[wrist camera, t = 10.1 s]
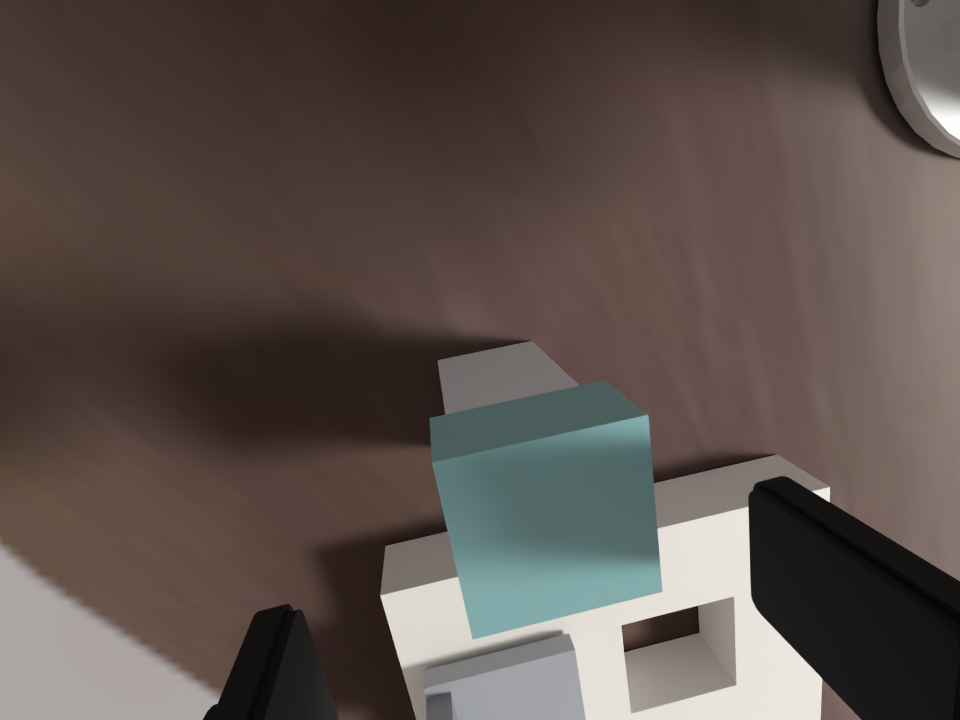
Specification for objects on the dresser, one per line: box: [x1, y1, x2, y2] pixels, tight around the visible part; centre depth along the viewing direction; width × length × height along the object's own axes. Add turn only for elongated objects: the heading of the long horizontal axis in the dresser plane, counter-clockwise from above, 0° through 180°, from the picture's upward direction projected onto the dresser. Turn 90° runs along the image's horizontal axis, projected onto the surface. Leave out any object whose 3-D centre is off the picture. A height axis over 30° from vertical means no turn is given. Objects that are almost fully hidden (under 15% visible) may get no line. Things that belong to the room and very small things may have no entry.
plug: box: [429, 341, 662, 639], centre depth 15 cm, size 5×5×10 cm
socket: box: [380, 455, 830, 720], centre depth 22 cm, size 19×14×3 cm
